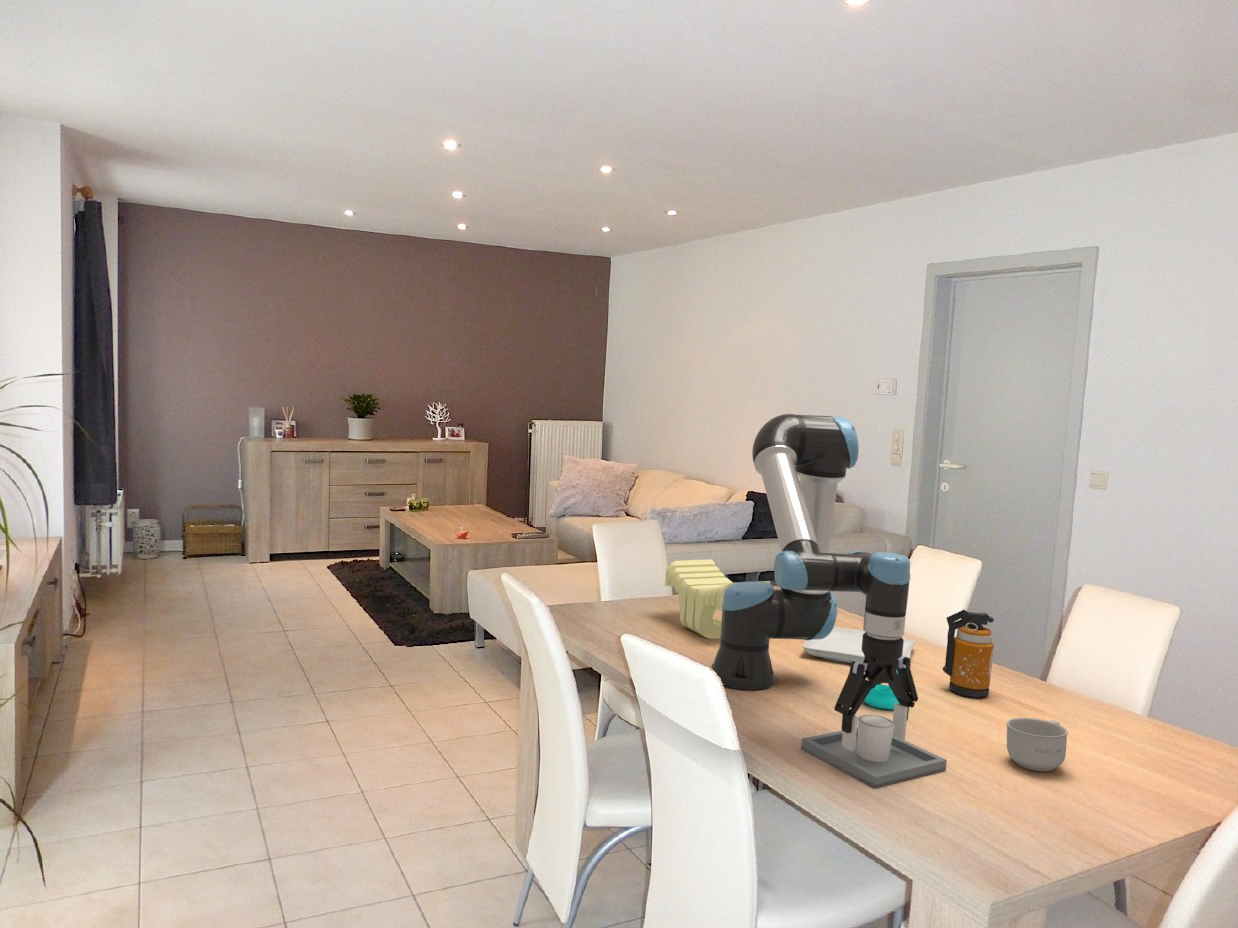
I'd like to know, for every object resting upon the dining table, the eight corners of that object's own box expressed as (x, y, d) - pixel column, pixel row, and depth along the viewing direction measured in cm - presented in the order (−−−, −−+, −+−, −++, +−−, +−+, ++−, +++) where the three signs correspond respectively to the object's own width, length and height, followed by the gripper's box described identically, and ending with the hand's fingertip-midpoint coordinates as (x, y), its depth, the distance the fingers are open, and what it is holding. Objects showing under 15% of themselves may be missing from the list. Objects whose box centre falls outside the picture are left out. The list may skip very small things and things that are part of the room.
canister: (992, 701, 213) (1000, 618, 211) (942, 695, 215) (950, 612, 213) (984, 689, 221) (992, 609, 220) (937, 683, 224) (945, 604, 222)
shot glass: (892, 752, 176) (895, 718, 175) (890, 766, 169) (894, 730, 168) (856, 746, 178) (859, 711, 177) (853, 758, 171) (856, 723, 171)
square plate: (800, 659, 238) (801, 645, 238) (817, 635, 263) (818, 622, 263) (907, 678, 228) (908, 662, 228) (914, 651, 253) (916, 637, 253)
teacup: (1038, 780, 168) (1043, 739, 168) (990, 757, 178) (994, 718, 177) (1086, 770, 175) (1091, 730, 174) (1038, 748, 184) (1042, 710, 184)
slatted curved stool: (662, 619, 269) (666, 560, 267) (708, 616, 276) (712, 559, 274) (716, 648, 242) (721, 583, 241) (765, 644, 249) (770, 580, 248)
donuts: (880, 668, 199) (855, 654, 208) (876, 712, 200) (851, 697, 209) (918, 666, 202) (892, 653, 212) (914, 710, 203) (888, 695, 212)
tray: (801, 748, 176) (802, 738, 176) (869, 734, 186) (870, 724, 186) (874, 788, 160) (876, 777, 160) (945, 770, 170) (946, 760, 170)
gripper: (850, 646, 162) (840, 760, 163) (943, 634, 175) (933, 740, 176) (821, 635, 168) (811, 745, 170) (912, 624, 181) (902, 726, 183)
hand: (873, 743), depth 173 cm, fingers open, 13 cm apart
